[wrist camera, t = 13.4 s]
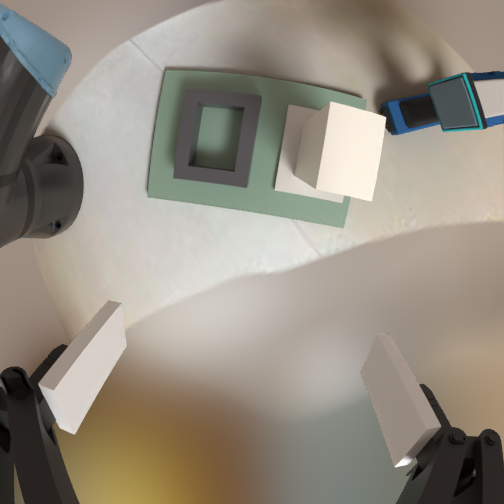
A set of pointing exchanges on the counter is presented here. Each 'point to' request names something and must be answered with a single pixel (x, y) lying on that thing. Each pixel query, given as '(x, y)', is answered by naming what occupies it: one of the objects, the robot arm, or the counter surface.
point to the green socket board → (240, 144)
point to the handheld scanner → (450, 105)
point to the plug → (341, 150)
